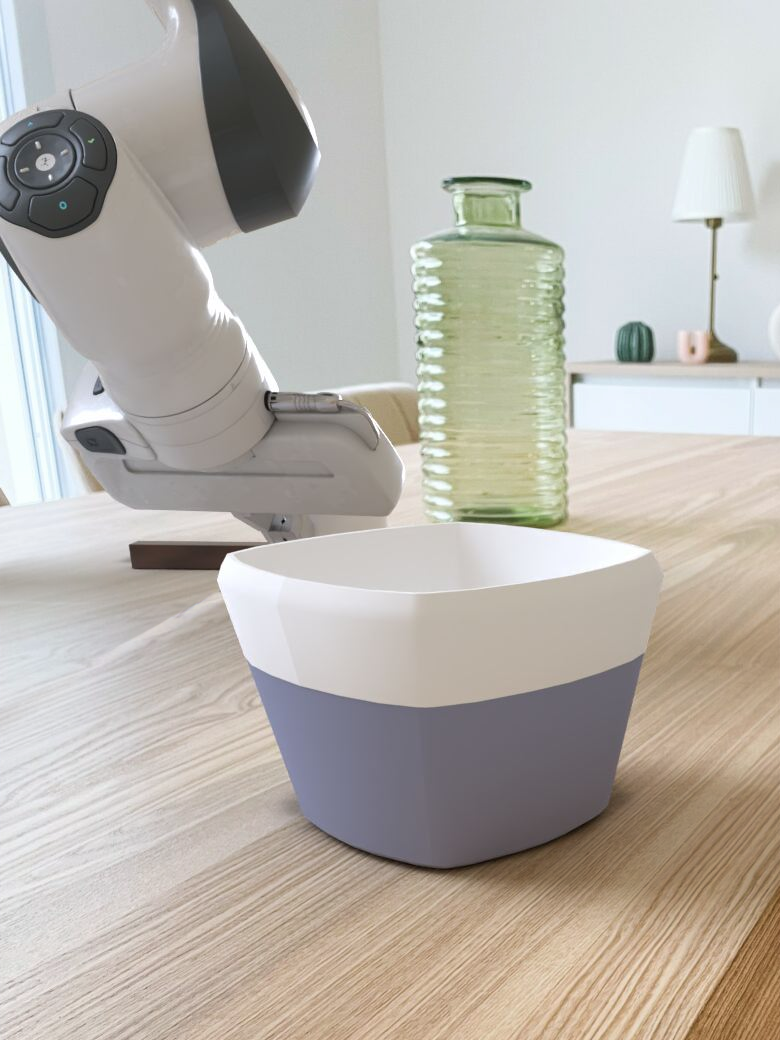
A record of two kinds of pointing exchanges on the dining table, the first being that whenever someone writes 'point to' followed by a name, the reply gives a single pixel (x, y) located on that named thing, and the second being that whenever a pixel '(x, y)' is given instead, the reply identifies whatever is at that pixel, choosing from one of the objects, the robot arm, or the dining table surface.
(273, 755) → the dining table surface
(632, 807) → the dining table surface
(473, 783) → the bowl
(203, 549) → the walnut stick
